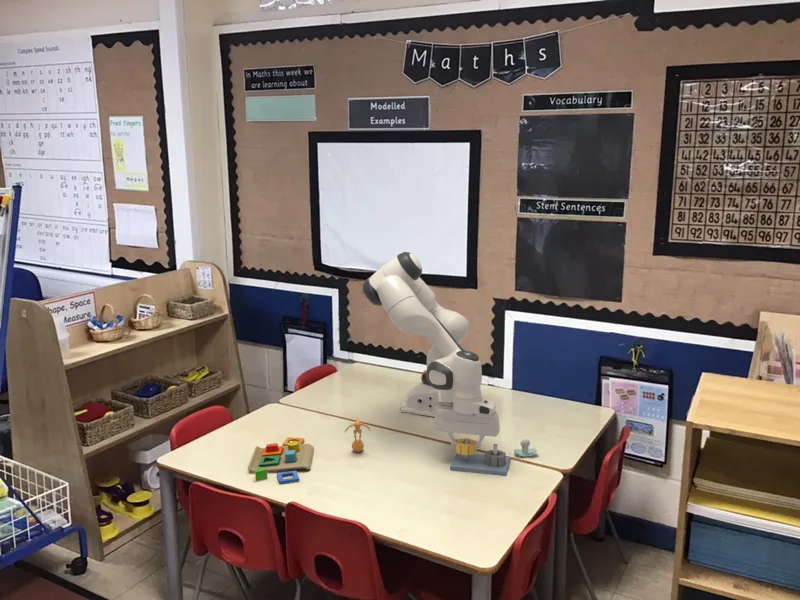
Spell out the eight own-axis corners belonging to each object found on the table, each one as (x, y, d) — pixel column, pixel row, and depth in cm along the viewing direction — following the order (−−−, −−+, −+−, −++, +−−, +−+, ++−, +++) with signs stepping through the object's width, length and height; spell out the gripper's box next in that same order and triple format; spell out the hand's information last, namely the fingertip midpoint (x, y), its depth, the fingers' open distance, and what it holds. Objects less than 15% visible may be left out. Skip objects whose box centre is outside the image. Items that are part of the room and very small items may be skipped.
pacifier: (510, 452, 230) (515, 459, 224) (511, 434, 228) (515, 441, 223) (532, 451, 230) (537, 458, 224) (533, 433, 229) (538, 440, 223)
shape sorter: (260, 441, 240) (259, 428, 239) (315, 439, 241) (315, 426, 240) (243, 485, 207) (242, 471, 206) (308, 483, 208) (307, 469, 207)
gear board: (449, 469, 216) (450, 447, 215) (457, 455, 227) (457, 433, 226) (505, 475, 211) (506, 453, 210) (510, 460, 223) (510, 438, 222)
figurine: (370, 448, 233) (369, 413, 231) (371, 455, 227) (370, 420, 225) (344, 449, 232) (344, 415, 230) (345, 457, 226) (344, 421, 224)
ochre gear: (454, 454, 218) (454, 444, 217) (458, 446, 224) (458, 437, 223) (474, 456, 216) (474, 446, 216) (477, 448, 222) (477, 439, 221)
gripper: (431, 404, 217) (431, 447, 219) (498, 409, 212) (497, 453, 214) (435, 398, 223) (435, 439, 225) (500, 403, 218) (499, 445, 220)
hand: (466, 446), depth 220 cm, fingers closed on ochre gear, 6 cm apart
